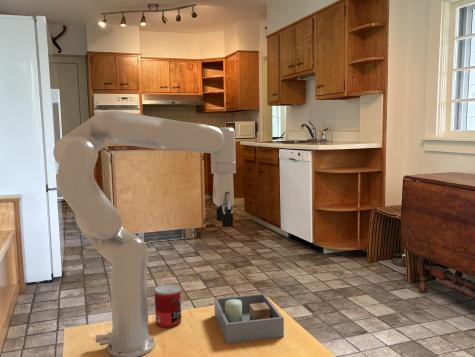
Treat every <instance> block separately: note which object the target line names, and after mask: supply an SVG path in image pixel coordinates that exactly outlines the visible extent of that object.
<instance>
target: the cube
mask: <svg viewBox="0 0 475 357" xmlns="http://www.w3.org/2000/svg"><path fill="white" fill-rule="evenodd" d="M268 318H270V308H269V307H268V305H267V304H266V303H265V302H264V303H255V304H250V320H259V319H268Z"/></svg>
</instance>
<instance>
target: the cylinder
mask: <svg viewBox="0 0 475 357" xmlns="http://www.w3.org/2000/svg"><path fill="white" fill-rule="evenodd" d="M225 315H226V319H227V321H228V323H233V322H242V301H240V300H237V299H231V300H227V301H226V302H225Z"/></svg>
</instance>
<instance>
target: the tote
mask: <svg viewBox="0 0 475 357" xmlns="http://www.w3.org/2000/svg"><path fill="white" fill-rule="evenodd" d="M213 299H214V301H213V302H214V303H213V304H214V305H213V306H214V318H215V321H216V323H217V324H218V327H219V329H220V332H221V334H222V336H223V338H224V340H225V343H226V344H227V345H229V344H236V343H237V344H238V343H245V342H253V341H261V340H269V339H277V338H284V337H285V333H284V332H285V330H284V329H285V327H284V326H285V322H284V321H285V320H284V317H283V315H282V313H280V312H279V310H278V309H277V308H276V306H275V305H274V304H273V303H272V301H271V300H270V298H268V296H267V295H266V293H255V294H254V293H253V294H246V295H245V294H244V295H236V296H228V297H226V296H225V297H219V298H218V297H217V298H213ZM231 299H237V300H240V301H242V322H233V323H228V321H227V319H226V315H225V302H226V301H227V300H231ZM264 302H265V303H266V304H267V305H268V307H269V308H270V318H268V319H259V320H250V304H255V303H264Z"/></svg>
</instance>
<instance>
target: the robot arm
mask: <svg viewBox="0 0 475 357" xmlns="http://www.w3.org/2000/svg"><path fill="white" fill-rule="evenodd" d="M109 144H114V145H122V146H129V147H130V146H132V147H139V148H146V149H153V150H154V149H156V150H180V151H181V150H184V151H185V150H186V151H189V152H193V153H201V154H202V153H203V154H204V153H205V154H210V170H211V172H210V173H211V174H212V175H213V184H212V185H213V186H212V187H213V188H212V193H213V194H212V202H213V204H214V205H216V211H215V212H216V213H215V214H216V221H217V222H221V226H222V227H223V228H233V226H234V212H233V205H234V204H235V202H234V201H235V196H234V195H235V194H234V193H235V192H234V191H235V190H234V189H235V188H234V174H237V169H236V168H237V166H236V164H237V161H236V160H237V159H236V157H237V156H236V152H237V151H236V131H235V129H234V128H233V127H226V126H225V127H222V126H221V127H217V126H212V125H208V124H207V125H206V124H200V123H196V122H188V121H181V120H174V119H170V118H164V117H163V118H162V117H158V116H157V117H156V116H150V115H144V114H139V113H132V112H126V111H121V110H120V111H119V110H108V111H107V110H106V111H101V112H98V113H96V114H95V115H93V116H91V117H90V118H89V119H87V120H86V121H85V122H82V124H80V125H79V126H77V127H76V128H74V129H73V130H71V131H69V132H68V133H67V134H66V135H64V136H63V137H61V138H59V139H58V141H57V142H56V143H55V144H54V147H53V153H52V154H53V158H54V161H55V162H56V164H58V167H57V172H56V173H57V175H56V178H57V180H56V181H57V187H58V191H59V192H60V195H61V196H62V197H63V199H64V201H65V202H66V204H68V206H69V207H70V208H71V210H72V212H73V213H74V215H75V217H74V218H75V219H74V220H75V223H76V225H77V228H79V230H80V232H81V233H82V234H83V235H84V237H85V238H86V239H87V240H88V241H89V242H90V244H91V245H92V246H93V247H94V248H95V250H96V251H97V252H98V253H99V254H100V255H101V257H103V258H104V259H105V260H106V261H108V262H109V263H110V264H111V274H110V285H109V286H110V304H111V305H110V306H111V322H112V323H111V325H112V326H111V327H112V329H111V332H108V333H106V334H95V343H99V346H105V345H107V346H106V347H107V348H106V350H107V353H108V354H109V355H111V356H112V357H140V356H144V355H146V354H148V353H150V352H151V351H152V350H153V348H154V347H155V344H156V343H155V342H156V340H155V338H154V337H153V335H150V333H149V306H148V290H147V288H148V287H147V285H148V284H147V280H148V279H147V275H148V274H147V271H148V263H149V249H148V247H147V244H146V243H145V241H144V240H143V238H141V237H139V236H138V235H136V234H134V233H132V232H130V231H127V230H126V229H125V228H124V227H123V220H122V216H121V213H120V212H119V211H118V209H117V208H116V207H115V206H114V204H113V203H112V202H111V200H110V199H109V198H108V197H107V196H106V195H105V193H104V192H103V190H102V189H101V188H100V186H99V184H98V183H97V181H96V179H95V176H94V175H95V174H94V171H95V167H96V164H97V161H98V158H99V157H98V156H99V152H100V151H101V150H102V149H103V148H104V147H106V146H107V145H109Z"/></svg>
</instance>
